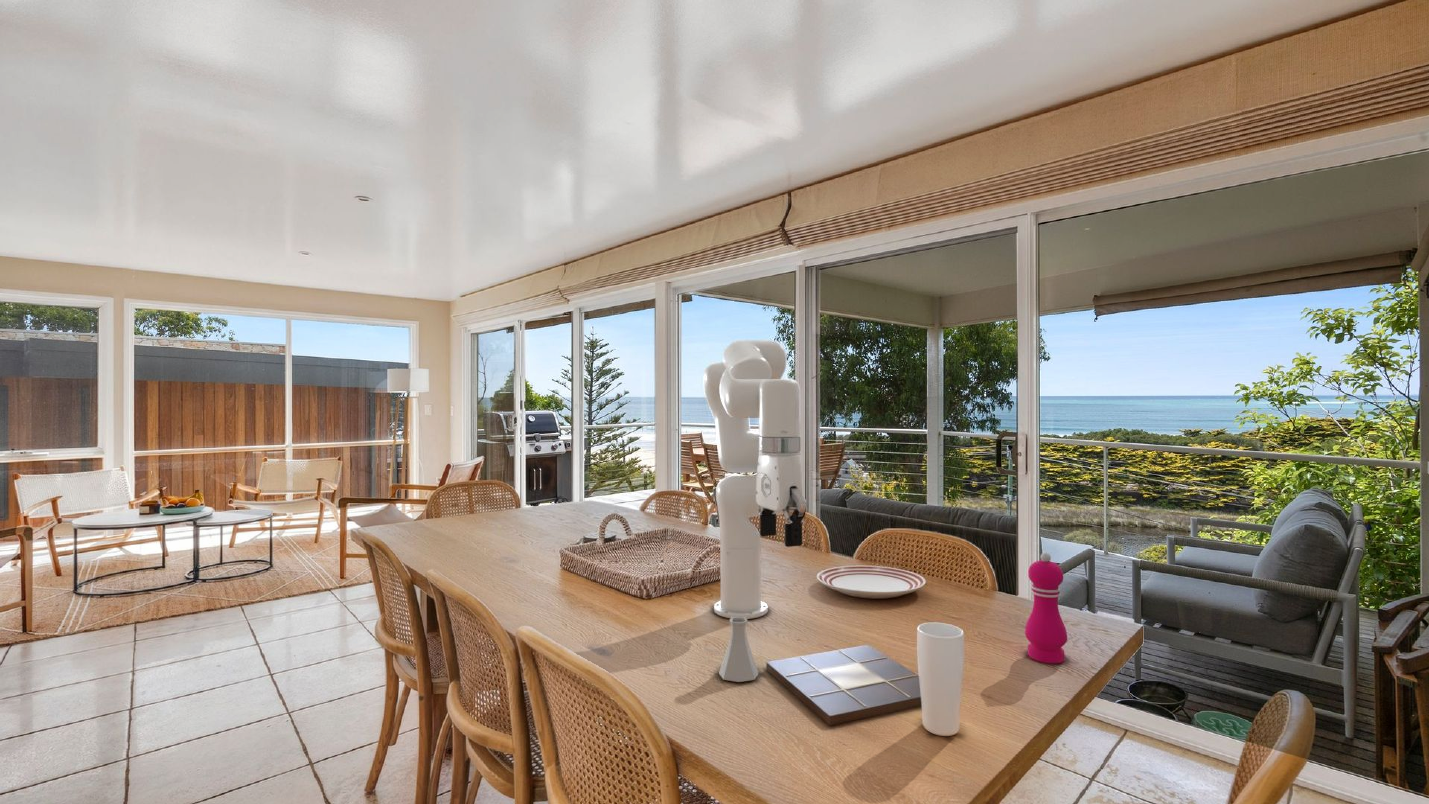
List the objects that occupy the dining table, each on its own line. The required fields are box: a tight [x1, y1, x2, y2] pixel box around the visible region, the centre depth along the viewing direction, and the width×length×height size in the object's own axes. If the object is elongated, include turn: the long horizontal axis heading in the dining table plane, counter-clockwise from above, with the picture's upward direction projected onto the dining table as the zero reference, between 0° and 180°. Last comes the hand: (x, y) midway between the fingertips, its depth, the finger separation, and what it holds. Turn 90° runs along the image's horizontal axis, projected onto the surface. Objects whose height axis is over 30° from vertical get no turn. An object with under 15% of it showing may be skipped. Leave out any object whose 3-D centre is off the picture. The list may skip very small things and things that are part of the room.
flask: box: [718, 617, 760, 683], centre depth 118 cm, size 7×7×10 cm
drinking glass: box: [916, 621, 965, 737], centre depth 98 cm, size 7×7×15 cm
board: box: [765, 644, 922, 727], centre depth 114 cm, size 22×22×2 cm
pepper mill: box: [1024, 552, 1068, 664], centre depth 125 cm, size 7×7×20 cm
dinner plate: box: [816, 565, 927, 599], centre depth 170 cm, size 27×27×3 cm
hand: (780, 540), depth 119 cm, fingers open, 9 cm apart
